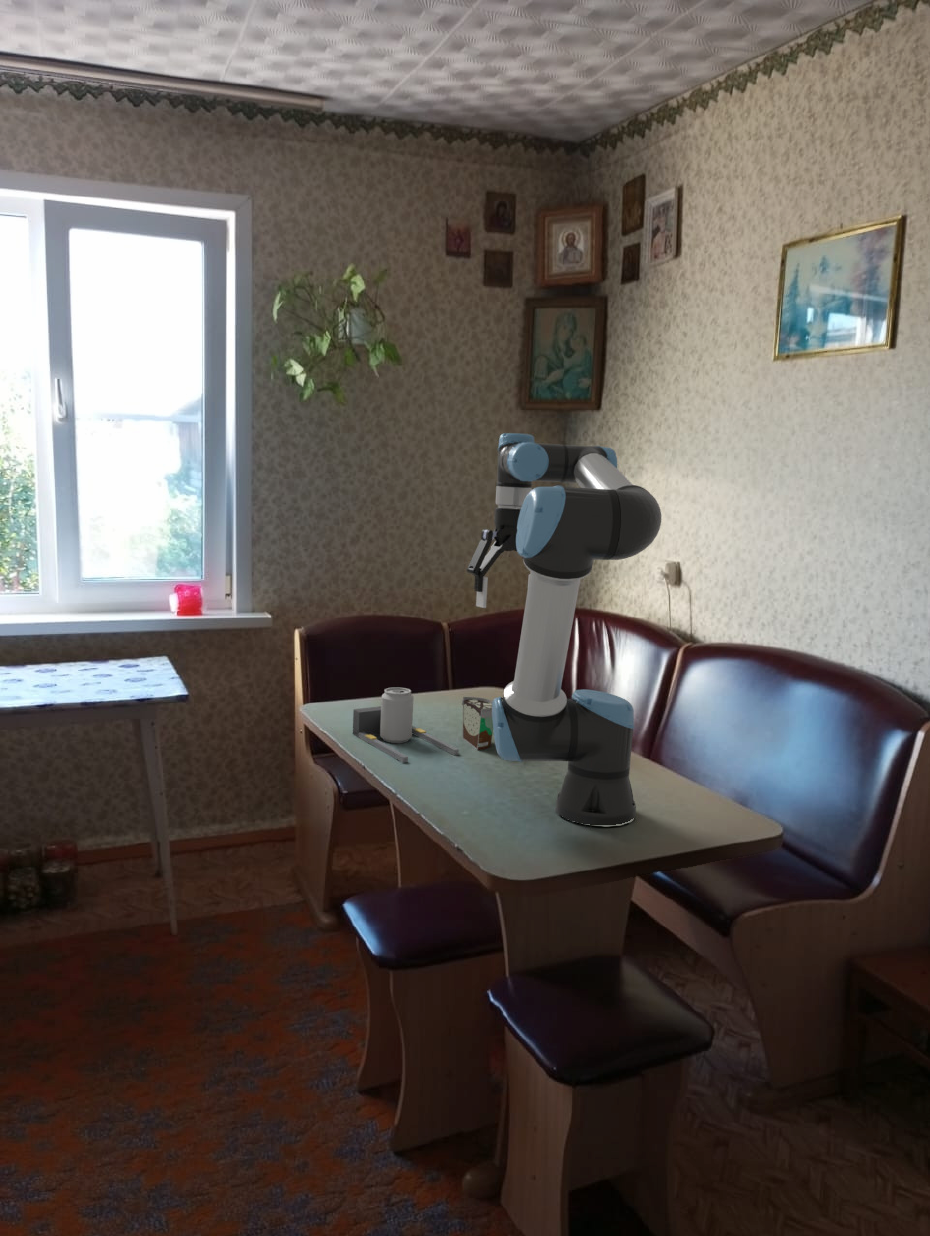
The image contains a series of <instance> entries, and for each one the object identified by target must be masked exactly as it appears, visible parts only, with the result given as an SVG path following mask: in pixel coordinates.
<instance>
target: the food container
mask: <svg viewBox="0 0 930 1236" xmlns="http://www.w3.org/2000/svg"><path fill="white" fill-rule="evenodd" d="M462 698H463V699H462V701H461V702H462V703H461V705H462V740H463V741H465V742H467V744H468V745H470V746H471V747H473V748H474V749H475V750H476V751H481V750H483V751H484V750H487V749H489V748H491V746H492V741H493V740H492V739H493V735H494V731H493V719H492V703H493V700H491V699H488V698H484V697H479V696H478V697H476V696H463V697H462Z"/></svg>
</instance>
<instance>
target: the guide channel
mask: <svg viewBox="0 0 930 1236" xmlns="http://www.w3.org/2000/svg"><path fill="white" fill-rule="evenodd" d="M352 713H353V714H352V715H353V717H352V735H354V736H356V737H358V738H359V739H361V740H362V741H365V742H366V743H368V744H370V745H371V746H373V747H375V748H377V749H378V750H380V751H382V752H383V753H385V754H387V755H389V756H390V757H393V758H394V759H396V760H397V759H398V761H399V762H401V763H403V764H405V763H408V762H409V756H407V755H406V754H404V753H402V752H400V751H398V750H397V749H395V748H393V747H391V746H390V745H388V744H387V743H384V742H383V741H381V740H379V739H378V737H377V736H379V735H378V734H380V724H381V705H380V706H372V707H364V708H363V707H362V708H354V709H353V712H352ZM412 733H413V734H412V735H414V734H415V735H414V736H416V735H417V737H418V736H419V737H418V738H420V737H421V738H420V739H422V740H424V739H425V740H424V741H426V742H427V743H430V744H431V745H433V746H436V747H438V748H439V749H441V750H442V751H445V752H447V753H449V754H451V755H453V756H459V754H460V749H459V748H457V747H455V746H453V745H451V744H449V743H447V742H446V741H443V740H441V739H439V738H438V737H436V736H434V735H431V734H429V733H427V731H426V730H424V729H422V728H420V727H418V728H417V727H415V726H413V725H412Z"/></svg>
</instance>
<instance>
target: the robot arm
mask: <svg viewBox="0 0 930 1236" xmlns="http://www.w3.org/2000/svg"><path fill="white" fill-rule="evenodd" d="M496 471H497V472H496V473H497V474H496V477H497V478H496V487H495V491H496V492H495V505H496V506H497V507H495V509H494V520H493V522H494V525H495V526H494V527H495V528H494V530H492V529H486V528H484V529H482V530H481V536H480V540H479V542H478V545H477V547H476V549H475V552H474V553H473V556H472V558H471V560H470V561H469V564H468V566H467V568H466V572H467V573H469V574H471V575H473V576H474V587H473V589H474V592H476V598H475V599H476V600H475V601H476V602H475V607H478V608H483V609H486V608H487V597H488V583H489V582H488V581H489V580H488V578H489V577H487V576H485V575H486V574H487V573H488V571H490V569H491V568H492V566H493V565H494V564H495V562H496V561H497V560H498V558H499V557H500V556H501V554H503V553H505V552H511V551H513V552H517V554H518V555H519V556H520V557H522V560H523V561H522V562H523V564H524V567H525V568H526V569H527V570H528V571H529V572H530V574H528V581H527V592H526V598H525V605H524V611H523V612H524V613H523V618H522V623H521V624H522V625H521V633H520V638H519V639H520V640H519V644H518V645H519V646H518V652H517V658H516V665H515V672H514V679H513V681H511V682H509V683H508V684H507V685H506V686H505V687H504V690H503V696H498V697H495V698H493V700H492V701H493V703H492V719H493V738H494V739H493V740H494V745H495V749H496V752H497V755H498V756H499V758H501V759H502V760H505V761H513V762H514V761H515V762H520V763H522V762H567V771H566V775H565V777H564V780H563V782H562V786H561V789H560V792H558V793H557V796H556V799H555V812H556V814H557V813H558V814H559V815H558V814H557V815H558V816H560V815H561V816H563V817H564V818H566V819H569V820H571V821H575V822H578V823H583V824H590V825H616V824H622V823H625V822H628V821H630V820H631V819H633V818H634V816H635V817H636V812H637V811H636V810H637V807H636V806H637V804H636V802H635V799H634V794H633V793H634V792H633V789H632V784H631V781H630V769H631V757H632V745H633V734H634V729H635V724H634V720H635V718H634V716H635V714H634V713H635V711H634V706H633V705H632V703H631V702H629V701H628V700H626V699H625V698H624V697H621V696H619V695H615V694H613V693H612V694H611V693H609V692H605V691H600V690H593V689H584V688H583V689H575V691H573V693H572V695H571V698H567V695H566V693H565V691H564V690H563V689H562V684H563V683H562V682H563V678H564V672H565V667H566V662H567V657H568V650H569V645H570V641H571V640H570V638H571V635H572V634H571V633H572V628H573V623H574V617H575V613H576V612H575V611H576V606H577V601H578V595H579V589H580V583H581V580H583V579H584V578H586V577H588V576H589V575H591V572H592V569H593V564H594V561H595V560H599V561H603V560H604V561H612V560H613V561H619V560H626V559H629V558H632V557H634V556H636V555H638V554H640V553H641V552H643V551H645V550H646V549H647V548H648V547H649V546H650V545H651V544H652V543H653V542H654V541H655V539H656V537H657V536H658V534H659V531H660V529H661V525H662V511H661V507H660V505H659V502H658V500H657V499H656V497H654V495H653V494H652V493H650V492H649V490H647V489H646V488H644V487H642V486H640V485H636V484H633V483H632V482H631V481H630V480H629V479H628V478H627V477H626V476H625V475H624V474H623V473H622V472H621V471H620V470H619V469H618V457H617V453H616V452H615V450H614V449H613V448H611V447H605V446H600V445H595V446H593V445H592V446H591V445H572V444H570V445H568V444H559V443H557V444H556V443H555V444H554V443H539V442H535V437H534V436H533V435H532V434H528V433H517V432H515V433H514V432H513V433H512V432H511V433H510V432H509V433H508V432H505V433H502V434H501V435H500V436H499V440H498V447H497V470H496ZM533 482H551V483H571V484H577V485H578V486H579V487H571V486H569V487H568V486H562V485H554V486H537V487H534V488H533V485H532V483H533ZM532 488H533V489H532ZM493 540H495V541H494V542H493V543H492V541H493ZM491 544H492V545H491ZM561 816H560V817H561ZM564 818H563V819H564ZM566 819H565V820H566ZM571 821H570V822H571Z"/></svg>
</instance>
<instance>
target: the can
mask: <svg viewBox="0 0 930 1236" xmlns="http://www.w3.org/2000/svg"><path fill="white" fill-rule="evenodd" d="M380 703H381V705H380V706H381V724H380V735H379V736H380V738H382V740H383V741H384V742H387V743H390V742H391V744H404V743H407V742H408V741H409V740H410V739H412V737H413V734H412V726H413V716H414V715H413V714H414V695H412V690H411V689H410V688H406V687H388V688H384V693H382V695H381V701H380Z"/></svg>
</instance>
